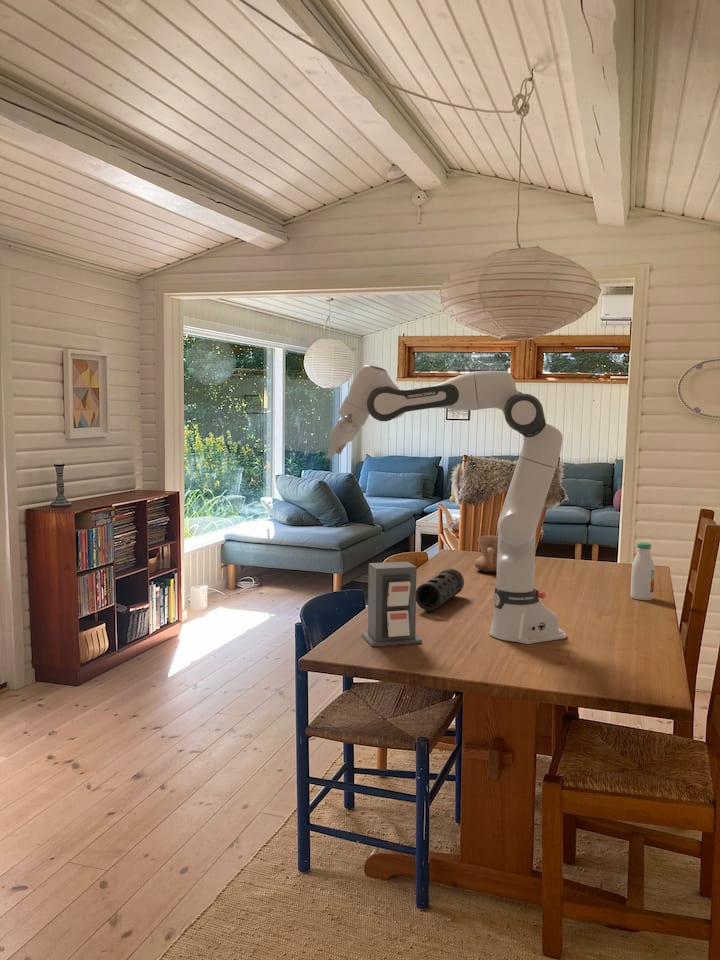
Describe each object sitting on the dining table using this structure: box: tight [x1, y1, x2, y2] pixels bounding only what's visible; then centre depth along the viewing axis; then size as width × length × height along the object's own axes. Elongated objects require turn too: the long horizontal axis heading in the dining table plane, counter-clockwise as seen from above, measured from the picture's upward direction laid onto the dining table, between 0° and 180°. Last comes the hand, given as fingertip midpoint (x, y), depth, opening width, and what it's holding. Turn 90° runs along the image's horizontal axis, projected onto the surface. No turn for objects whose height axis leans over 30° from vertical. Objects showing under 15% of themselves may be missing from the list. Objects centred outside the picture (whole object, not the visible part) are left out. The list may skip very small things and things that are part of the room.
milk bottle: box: [630, 542, 655, 601], centre depth 279 cm, size 8×8×20 cm
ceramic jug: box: [474, 535, 498, 574], centre depth 322 cm, size 18×14×14 cm
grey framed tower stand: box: [361, 561, 423, 647], centre depth 225 cm, size 15×11×22 cm
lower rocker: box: [387, 610, 410, 637], centre depth 220 cm, size 6×1×7 cm, turn 105°
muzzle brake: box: [416, 568, 465, 613], centre depth 268 cm, size 10×28×10 cm, turn 156°
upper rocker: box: [387, 581, 411, 607], centre depth 219 cm, size 6×1×7 cm, turn 105°
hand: (334, 454), depth 239 cm, fingers open, 8 cm apart
